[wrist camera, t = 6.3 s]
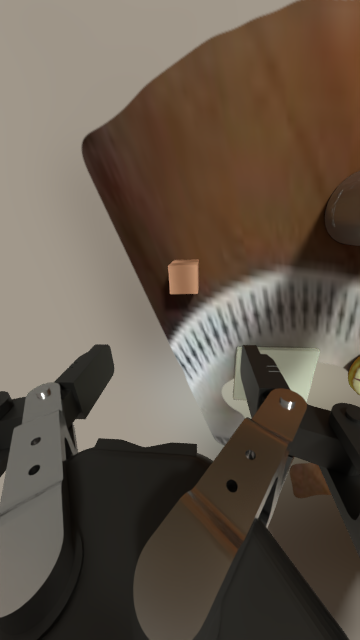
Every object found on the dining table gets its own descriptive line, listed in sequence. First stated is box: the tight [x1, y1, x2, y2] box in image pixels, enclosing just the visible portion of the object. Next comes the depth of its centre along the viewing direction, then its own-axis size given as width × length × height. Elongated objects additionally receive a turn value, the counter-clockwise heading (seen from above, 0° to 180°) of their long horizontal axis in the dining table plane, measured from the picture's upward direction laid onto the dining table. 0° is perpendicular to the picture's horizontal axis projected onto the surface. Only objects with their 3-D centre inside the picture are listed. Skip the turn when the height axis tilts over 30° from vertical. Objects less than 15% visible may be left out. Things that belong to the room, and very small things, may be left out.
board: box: [233, 347, 320, 402], centre depth 39 cm, size 14×12×1 cm
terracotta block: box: [168, 259, 199, 294], centre depth 31 cm, size 4×4×6 cm
